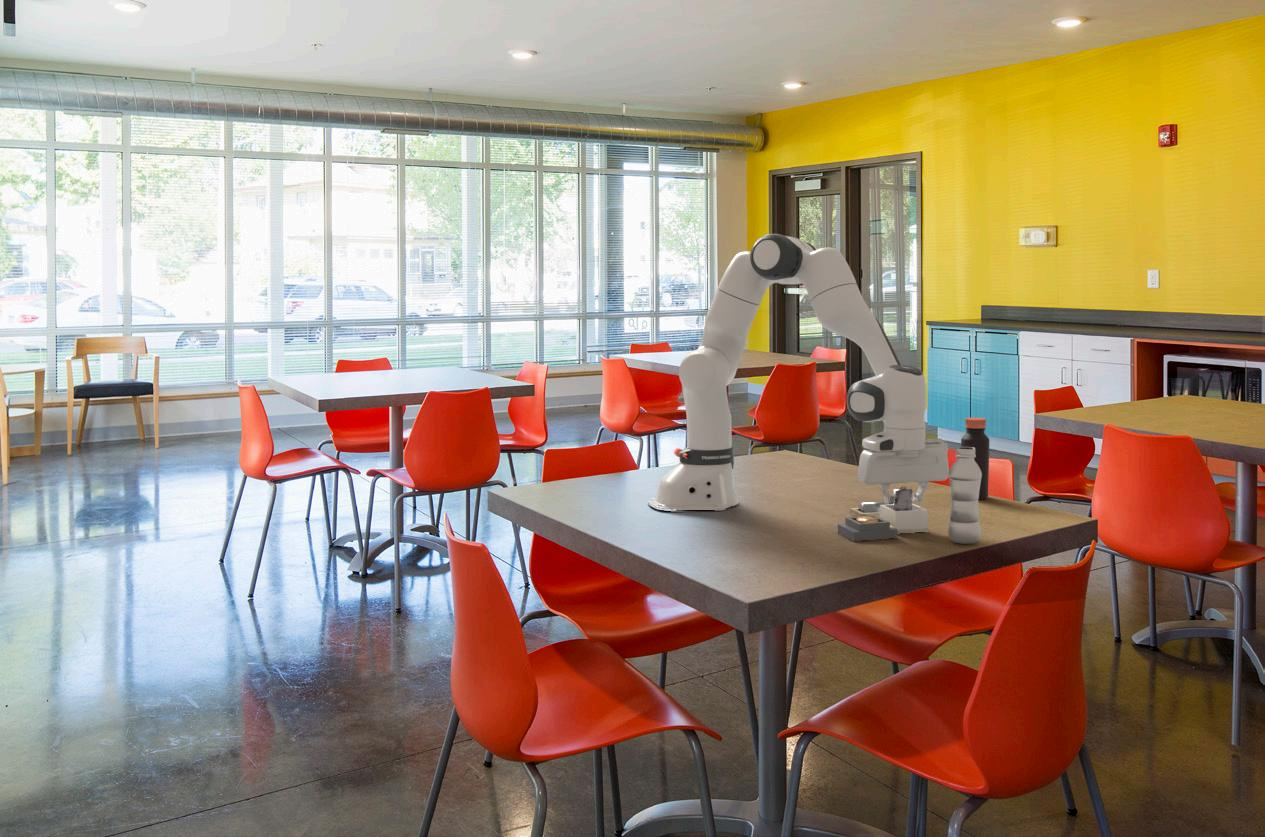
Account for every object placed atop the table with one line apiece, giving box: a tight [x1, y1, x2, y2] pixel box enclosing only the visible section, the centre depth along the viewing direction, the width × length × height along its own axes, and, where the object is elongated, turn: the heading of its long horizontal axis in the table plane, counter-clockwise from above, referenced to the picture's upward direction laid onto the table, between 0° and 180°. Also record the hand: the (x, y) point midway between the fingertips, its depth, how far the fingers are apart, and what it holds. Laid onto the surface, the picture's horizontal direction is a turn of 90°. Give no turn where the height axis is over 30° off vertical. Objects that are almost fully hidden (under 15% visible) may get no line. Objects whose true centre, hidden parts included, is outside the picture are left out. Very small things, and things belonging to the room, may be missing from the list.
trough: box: [849, 507, 880, 517], centre depth 240 cm, size 11×6×3 cm, turn 103°
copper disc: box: [856, 517, 878, 523], centre depth 228 cm, size 5×5×1 cm
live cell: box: [857, 500, 888, 513], centre depth 240 cm, size 9×4×4 cm, turn 103°
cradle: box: [837, 516, 898, 542], centre depth 228 cm, size 10×8×4 cm
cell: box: [892, 485, 913, 511], centre depth 232 cm, size 4×4×9 cm
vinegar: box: [960, 417, 990, 500], centre depth 266 cm, size 7×7×20 cm
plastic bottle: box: [947, 446, 982, 545], centre depth 219 cm, size 6×7×20 cm
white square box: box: [880, 503, 929, 535], centre depth 233 cm, size 8×8×5 cm
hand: (903, 502), depth 232 cm, fingers open, 5 cm apart
